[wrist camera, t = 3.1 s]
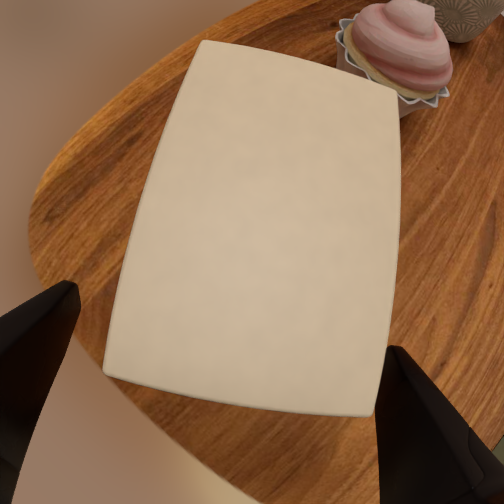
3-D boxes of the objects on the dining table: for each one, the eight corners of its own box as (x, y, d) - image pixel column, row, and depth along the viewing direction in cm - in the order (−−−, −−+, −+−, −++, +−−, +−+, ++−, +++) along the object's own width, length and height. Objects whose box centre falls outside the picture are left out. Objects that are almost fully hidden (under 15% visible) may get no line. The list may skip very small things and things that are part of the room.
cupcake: (428, 152, 22) (509, 85, 12) (318, 126, 21) (376, 22, 11) (408, 68, 24) (462, -2, 14) (313, 41, 23) (349, -49, 13)
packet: (256, 346, 18) (375, 422, 4) (184, 332, 18) (95, 377, 4) (275, 242, 19) (400, 89, 5) (206, 227, 19) (199, 35, 5)
